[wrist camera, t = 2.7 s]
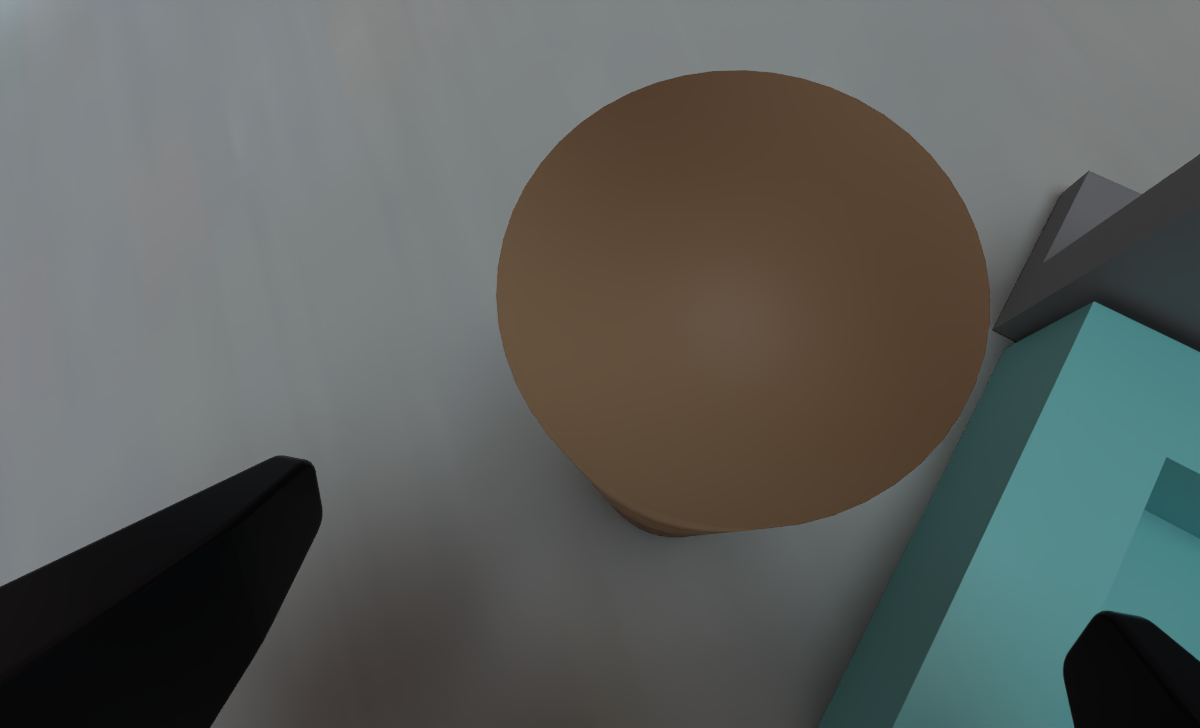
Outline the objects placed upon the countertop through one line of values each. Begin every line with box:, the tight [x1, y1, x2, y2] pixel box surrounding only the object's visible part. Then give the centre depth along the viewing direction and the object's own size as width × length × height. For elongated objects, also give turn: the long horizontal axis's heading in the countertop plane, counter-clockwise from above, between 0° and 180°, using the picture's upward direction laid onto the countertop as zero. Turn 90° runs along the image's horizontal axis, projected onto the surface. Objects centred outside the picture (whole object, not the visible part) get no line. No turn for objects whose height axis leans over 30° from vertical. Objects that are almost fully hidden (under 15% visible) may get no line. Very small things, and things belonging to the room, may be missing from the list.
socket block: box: [818, 301, 1200, 728], centre depth 14 cm, size 11×11×4 cm
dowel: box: [496, 70, 990, 537], centre depth 12 cm, size 4×4×12 cm
